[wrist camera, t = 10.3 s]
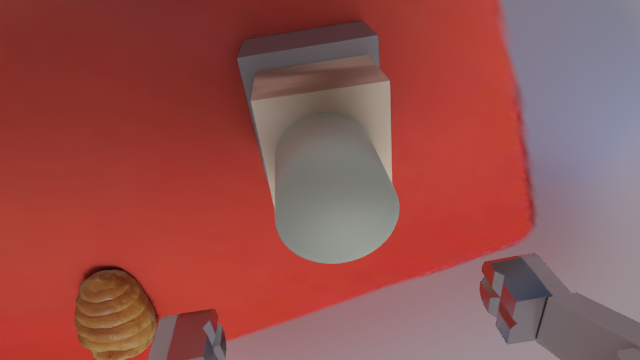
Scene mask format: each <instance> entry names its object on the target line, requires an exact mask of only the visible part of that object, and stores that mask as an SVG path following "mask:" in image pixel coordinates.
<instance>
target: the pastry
mask: <svg viewBox="0 0 640 360" xmlns="http://www.w3.org/2000/svg"><path fill="white" fill-rule="evenodd" d="M76 302H77V306H76V310H75V325H76V327H77V332H78V339H79V341H80V343H81V345H82V346H83V347H84V348H87V349H90V350H91V351H92V353H93V355H94V358H96V359H98V360H125V359H127V358H131V357H135V356H136V355H138V354H140V353H141V352H143V351H144V350H145V349H146V348H147V347H148V346H149V345H150V344H151V343H152V341H153V340H154V335H155V331H156V328H157V319H156V315H155V310H154V308H153V306H152V305H151V302H150V301H149V299H148V297H147V295H146V294H145V293H144V291H143V289H142V288H141V286H140V285H139V283H138V282H137V281H136V280H135V279H134V278H132V277H131V276H130V275H129V274H127V273H126V272H125V271H120V270H102V271H99V272H96V273H94V274H93V275H91V276H90V277H89V278H87V279H86V280H84V281H83V282H82V283H81V284H80V291H79V295H78V297H77V299H76Z"/></svg>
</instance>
